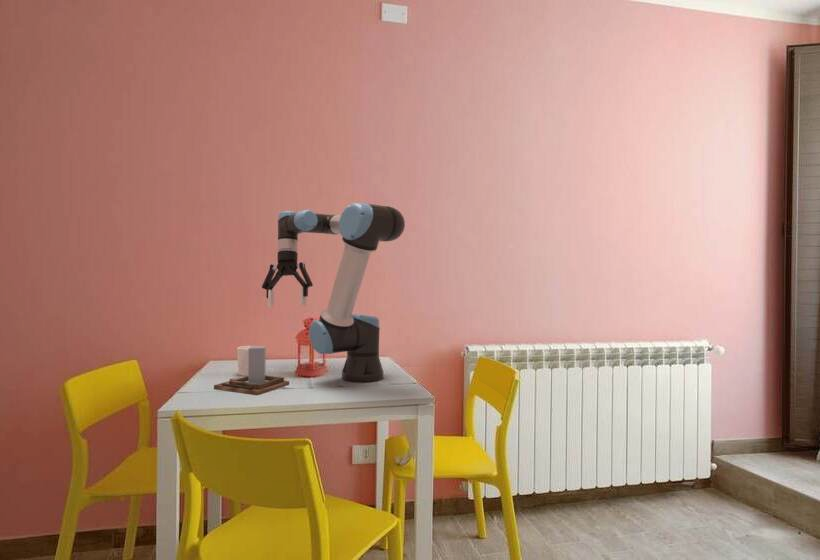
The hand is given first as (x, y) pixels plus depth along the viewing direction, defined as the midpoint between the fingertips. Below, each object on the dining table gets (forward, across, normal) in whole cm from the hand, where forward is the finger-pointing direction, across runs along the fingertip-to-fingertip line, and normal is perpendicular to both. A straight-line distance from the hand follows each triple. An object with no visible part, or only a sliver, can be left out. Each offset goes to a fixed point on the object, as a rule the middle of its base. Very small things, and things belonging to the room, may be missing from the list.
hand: (286, 306), depth 193 cm
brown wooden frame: (+29, +1, +20) cm, 35 cm away
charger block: (+28, -1, +21) cm, 35 cm away
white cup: (+25, +14, +4) cm, 29 cm away
